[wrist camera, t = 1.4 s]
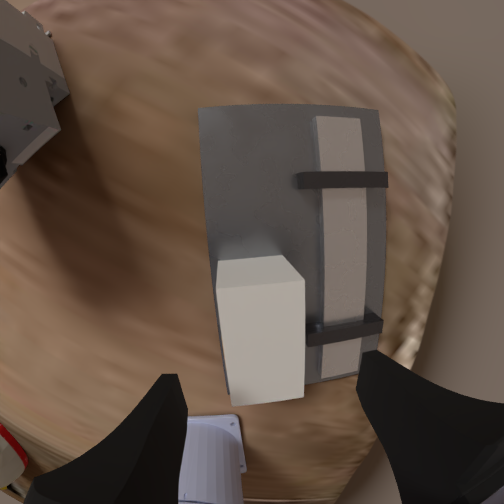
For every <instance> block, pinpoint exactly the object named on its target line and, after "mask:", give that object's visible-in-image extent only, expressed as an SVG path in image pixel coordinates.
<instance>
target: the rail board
mask: <svg viewBox="0 0 504 504" xmlns="http://www.w3.org/2000/svg"><path fill="white" fill-rule="evenodd" d="M198 118H199V136H200V153H201V168H202V181H203V194H204V206H205V217H206V228H207V238H208V248H209V258H210V267H211V276H212V284H213V293H214V301H215V309H216V317H217V324H218V332H219V339H220V346H221V353H222V360H223V367H224V373H225V380H226V386H227V392H228V395H229V394H230V390H229V384H228V377H227V371H226V365H225V359H224V351H223V344H222V335H221V327H220V319H219V311H218V303H217V295H216V280H217V267H218V261H223V260H234V259H245V258H256V257H266V256H277V255H283V256H284V257H285V258H286V260H287V261H288V262H289V263H290V264H291V265H292V266H293V267H294V268H295V270H296V271H297V272H298V273H299V274H300V275H301V276H302V277H303V278H304V280H305V374H304V385H307V384H312V383H317V382H322V381H327V380H332V379H337V378H341V377H346V376H350V375H354V374H358V373H359V370H360V364H361V358H362V353H363V352H367V351H372V350H377V346H378V338H379V333H382V328H383V320H382V319H381V313H382V303H383V291H384V277H385V256H386V194H385V188H388V172H384V159H383V147H382V137H381V128H380V120H379V113H378V110H373V109H364V108H355V107H344V106H330V105H310V104H252V105H232V106H218V107H206V108H198Z"/></svg>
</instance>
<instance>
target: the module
mask: <svg viewBox="0 0 504 504" xmlns="http://www.w3.org/2000/svg"><path fill="white" fill-rule="evenodd" d="M216 295H217V303H218V311H219V319H220V327H221V335H222V344H223V351H224V359H225V365H226V371H227V377H228V384H229V390H230V397H231V403H232V406H242V405H252V404H260V403H268V402H276V401H283V400H289V399H295V398H301V397H304V374H305V280H304V278H303V277H302V276H301V275H300V274H299V273H298V272H297V271H296V270H295V268H294V267H293V266H292V265H291V264H290V263H289V262H288V261H287V260H286V258H285V257H284V256H283V255H277V256H266V257H256V258H245V259H234V260H223V261H218V267H217V280H216Z"/></svg>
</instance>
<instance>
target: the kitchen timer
mask: <svg viewBox="0 0 504 504" xmlns="http://www.w3.org/2000/svg"><path fill="white" fill-rule="evenodd" d="M27 465H28V458H27V455H26V453H25V452H24V450H23V449H22V447H21V446H20V445H19V443H18V442H17V441H16V440H15V438H14V437H13V436H12V435H11V434H10V433H9V432H8V431H7V430H6V428H5V427H4V426H3V425H2V424H1V423H0V489H7V485H9V484H10V483H12V482H13V481H14V480H16V479H17V478H18V477H19V476H20V475H21V474H22V473H23V472H24V470H25V468H26V466H27Z"/></svg>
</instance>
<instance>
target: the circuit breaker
mask: <svg viewBox="0 0 504 504" xmlns="http://www.w3.org/2000/svg"><path fill="white" fill-rule="evenodd" d="M50 35H51V32H50V31H49V30H48V31H47V32H46V33H44V30H43V25H42V24H41V23H39V22H38V21H37V20H36V19H35V18H33V17H32V16H31V15H30V14H29V13H27V12H26V11H24V12H23V13H21V12H20V11H19V10H17V9H16V8H15V7H13V6H12V5H11V4H9V3H8V2H7V1H6V0H0V189H1V187H2V186H3V185H4V184H5V183H6V182H7V181H8V180H9V179H10V178H11V177H12V175H13V174H14V173H15V172H16V171H17V169H16V168H17V167H18V166H19V165H23V164H24V163H25V162H26V161H27V160H28V159H29V158H30V157H31V156H32V155H33V154H35V153H36V152H37V151H38V150H39V149H40V148H41V147H42V146H43V145H44V144H45V143H47V142H48V141H49V140H50V139H51V138H52V137H53V136H55V135H56V134H57V133H58V132H59V131H61V128H60V125H59V122H58V119H57V117H56V114H55V111H54V108H53V107H54V106H55V105H56V104H57V103H59V102H60V101H61V100H62V99H63V98H65V97H66V96H67V95H69V94H70V92H69V89H68V86H67V83H66V81H65V78H64V75H63V72H62V69H61V66H60V62H59V59H58V56H57V53H56V49H55V46H54V43H53V40H52V39H51V38H49V36H50Z"/></svg>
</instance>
